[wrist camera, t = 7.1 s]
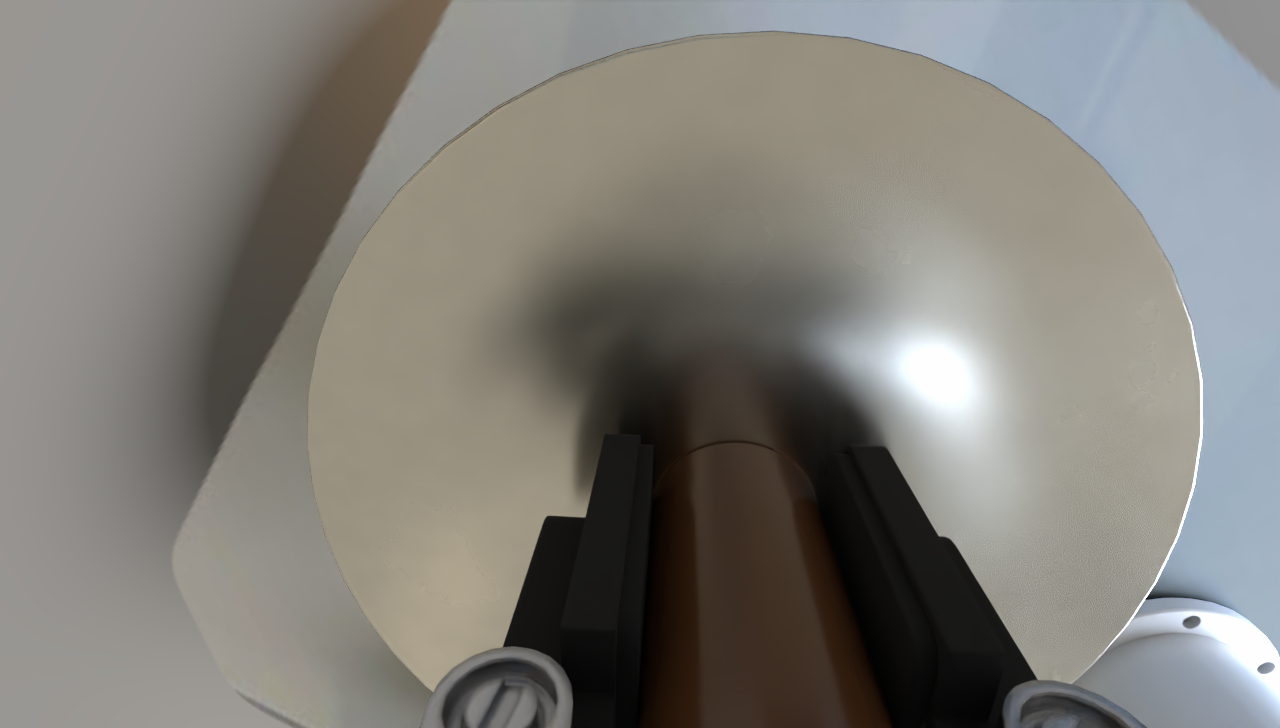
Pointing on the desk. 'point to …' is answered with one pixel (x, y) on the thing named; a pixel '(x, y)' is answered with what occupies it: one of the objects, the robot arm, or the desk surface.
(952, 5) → the desk surface
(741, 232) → the lid
